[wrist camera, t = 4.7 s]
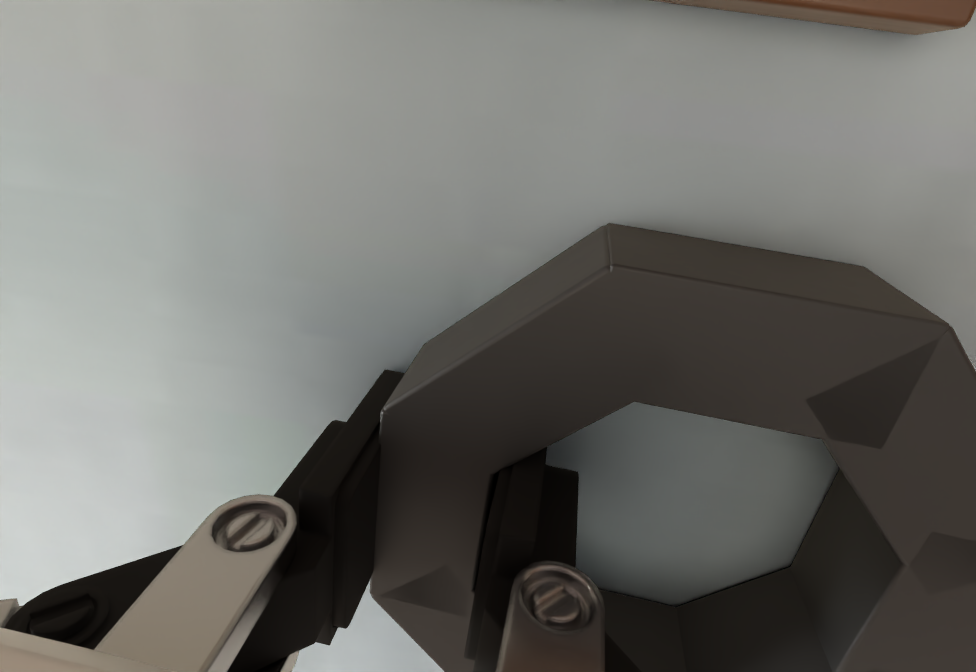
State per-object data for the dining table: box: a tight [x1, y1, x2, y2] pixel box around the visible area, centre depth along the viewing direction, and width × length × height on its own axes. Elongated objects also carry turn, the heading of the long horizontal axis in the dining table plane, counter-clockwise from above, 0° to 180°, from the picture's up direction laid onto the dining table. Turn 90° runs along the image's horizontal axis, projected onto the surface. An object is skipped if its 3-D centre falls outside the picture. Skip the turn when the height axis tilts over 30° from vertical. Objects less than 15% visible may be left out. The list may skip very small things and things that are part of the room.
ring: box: [370, 223, 976, 672], centre depth 11 cm, size 10×10×2 cm
